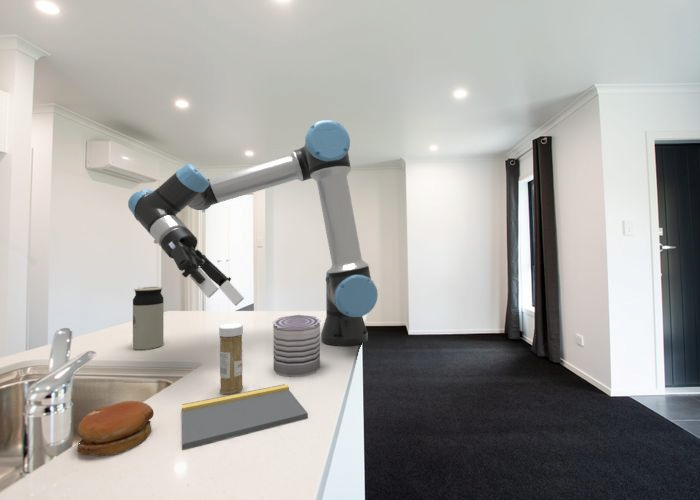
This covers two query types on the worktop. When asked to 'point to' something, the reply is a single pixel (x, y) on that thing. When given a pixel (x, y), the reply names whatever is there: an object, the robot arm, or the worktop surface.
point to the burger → (114, 428)
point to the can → (296, 345)
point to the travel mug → (147, 318)
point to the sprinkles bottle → (231, 358)
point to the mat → (238, 414)
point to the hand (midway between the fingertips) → (227, 297)
